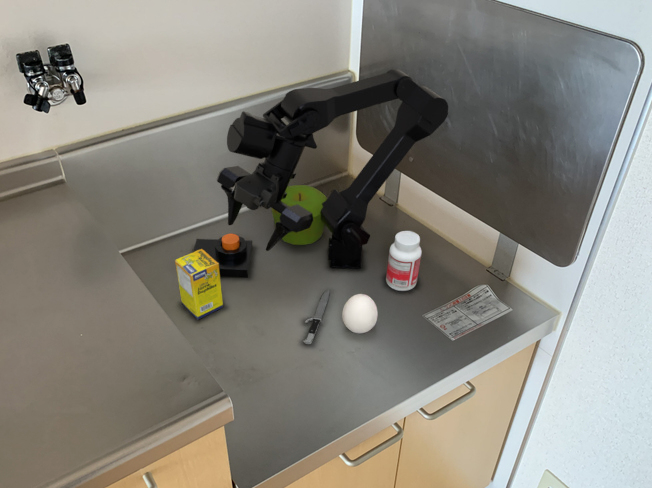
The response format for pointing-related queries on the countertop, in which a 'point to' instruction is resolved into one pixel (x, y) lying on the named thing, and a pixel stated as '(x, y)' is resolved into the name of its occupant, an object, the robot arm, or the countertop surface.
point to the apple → (312, 203)
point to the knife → (317, 318)
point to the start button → (230, 242)
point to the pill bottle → (404, 261)
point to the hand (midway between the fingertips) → (248, 237)
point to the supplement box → (199, 283)
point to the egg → (360, 313)
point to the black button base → (228, 256)
